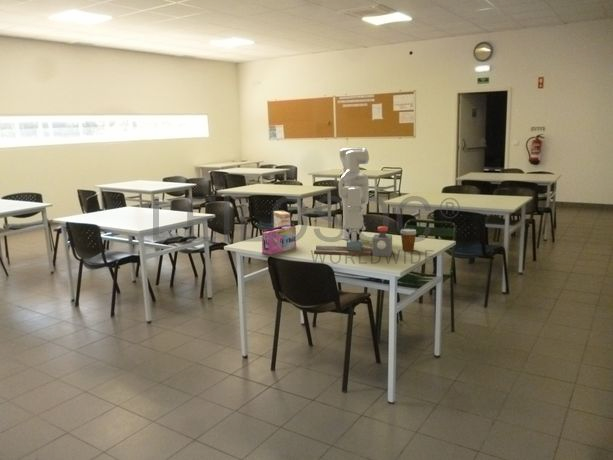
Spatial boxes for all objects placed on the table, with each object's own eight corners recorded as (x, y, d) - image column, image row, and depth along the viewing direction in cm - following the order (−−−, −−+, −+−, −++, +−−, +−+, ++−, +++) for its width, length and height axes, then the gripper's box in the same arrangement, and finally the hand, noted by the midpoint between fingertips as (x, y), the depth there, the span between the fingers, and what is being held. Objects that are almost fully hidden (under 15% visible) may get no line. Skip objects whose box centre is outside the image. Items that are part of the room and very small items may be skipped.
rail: (318, 249, 310) (318, 243, 309) (373, 251, 302) (373, 245, 302) (314, 253, 299) (314, 247, 298) (370, 255, 291) (370, 249, 290)
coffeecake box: (291, 243, 328) (290, 213, 325) (280, 244, 326) (279, 214, 322) (284, 239, 342) (283, 210, 338) (274, 240, 340) (273, 210, 336)
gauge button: (378, 241, 297) (378, 226, 296) (387, 241, 296) (387, 226, 294) (377, 243, 292) (377, 227, 290) (386, 243, 291) (387, 228, 289)
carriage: (348, 248, 303) (348, 229, 301) (362, 248, 301) (362, 230, 299) (346, 250, 296) (346, 232, 294) (360, 251, 294) (360, 232, 292)
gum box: (270, 255, 297) (269, 232, 295) (260, 253, 302) (259, 230, 300) (296, 247, 315) (296, 226, 313) (286, 246, 320) (286, 224, 318)
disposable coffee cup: (415, 252, 297) (415, 231, 295) (398, 251, 301) (398, 231, 298) (417, 248, 306) (417, 228, 304) (401, 247, 309) (401, 228, 307)
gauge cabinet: (374, 251, 302) (374, 234, 300) (391, 251, 300) (392, 234, 298) (372, 255, 290) (372, 238, 288) (390, 256, 288) (390, 239, 286)
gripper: (369, 208, 296) (369, 239, 299) (341, 207, 300) (341, 238, 303) (367, 210, 289) (367, 242, 292) (339, 209, 293) (339, 241, 296)
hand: (354, 240), depth 298 cm, fingers closed on carriage, 3 cm apart
